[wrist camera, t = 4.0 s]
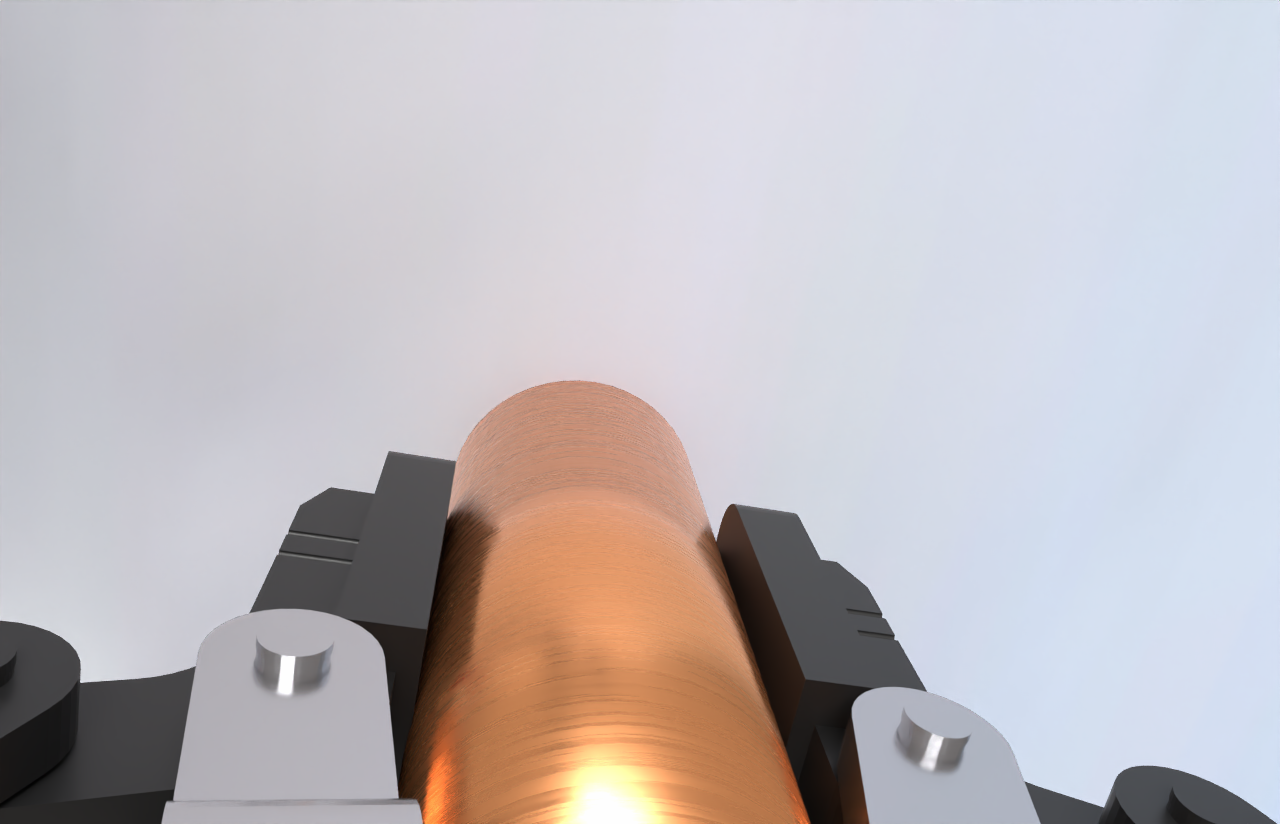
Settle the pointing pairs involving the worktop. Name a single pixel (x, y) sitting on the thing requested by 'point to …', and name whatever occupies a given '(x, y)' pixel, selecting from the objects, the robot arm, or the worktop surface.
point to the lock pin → (588, 634)
